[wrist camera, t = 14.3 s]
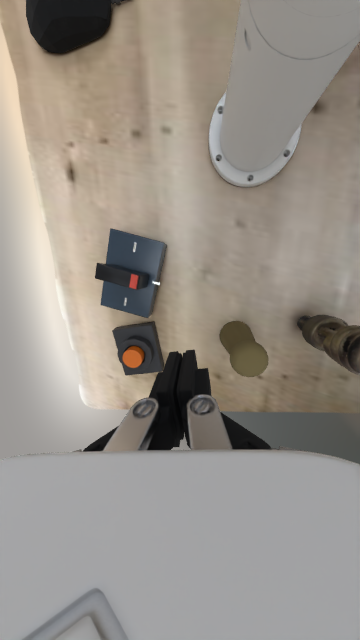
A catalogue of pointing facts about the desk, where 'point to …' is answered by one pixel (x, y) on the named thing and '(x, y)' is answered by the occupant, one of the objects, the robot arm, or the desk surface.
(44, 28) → the gaming mouse
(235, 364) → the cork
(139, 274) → the black box red end
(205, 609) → the robot arm
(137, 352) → the button
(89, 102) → the desk surface
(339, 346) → the brown ridged cylinder
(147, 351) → the button box
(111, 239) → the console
